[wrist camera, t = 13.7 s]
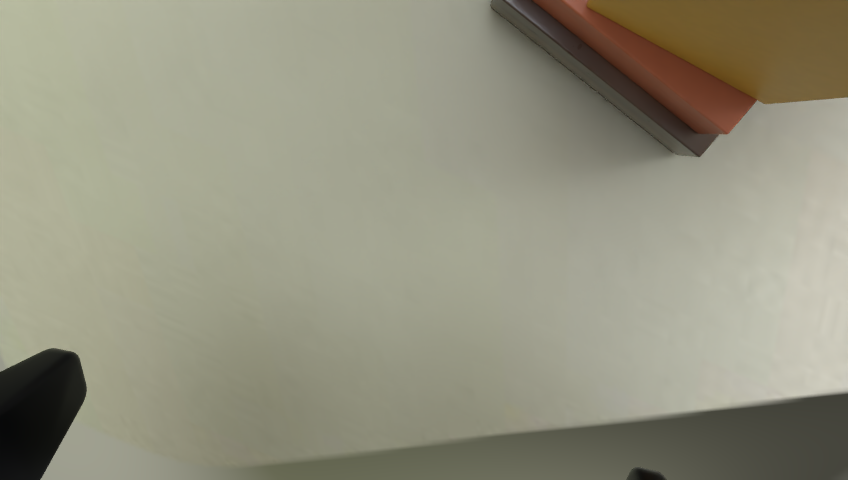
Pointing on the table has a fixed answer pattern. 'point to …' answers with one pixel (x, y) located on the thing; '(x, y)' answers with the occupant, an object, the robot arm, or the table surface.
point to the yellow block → (749, 41)
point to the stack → (632, 73)
